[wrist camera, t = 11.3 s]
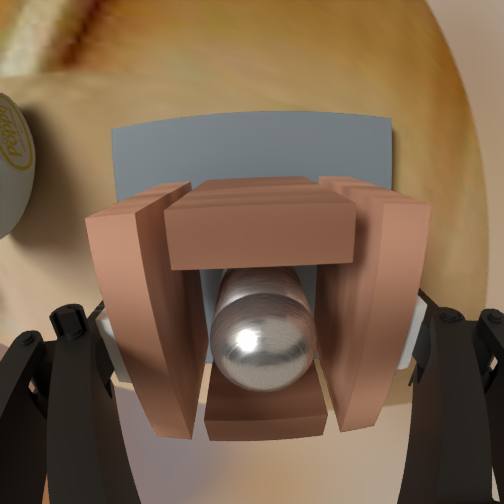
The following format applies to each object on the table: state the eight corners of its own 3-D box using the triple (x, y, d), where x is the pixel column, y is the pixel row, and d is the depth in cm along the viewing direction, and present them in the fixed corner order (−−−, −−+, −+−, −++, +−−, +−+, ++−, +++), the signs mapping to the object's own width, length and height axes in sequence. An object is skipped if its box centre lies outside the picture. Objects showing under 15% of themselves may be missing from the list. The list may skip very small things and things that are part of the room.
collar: (160, 184, 13) (84, 218, 6) (348, 176, 13) (431, 204, 6) (184, 340, 16) (156, 436, 9) (336, 333, 16) (374, 425, 9)
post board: (119, 130, 15) (111, 129, 14) (382, 119, 15) (391, 118, 14) (156, 351, 20) (152, 361, 19) (363, 342, 20) (368, 351, 19)
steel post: (224, 227, 16) (194, 328, 7) (288, 224, 16) (334, 321, 7) (229, 284, 17) (211, 413, 8) (288, 281, 17) (321, 408, 8)
